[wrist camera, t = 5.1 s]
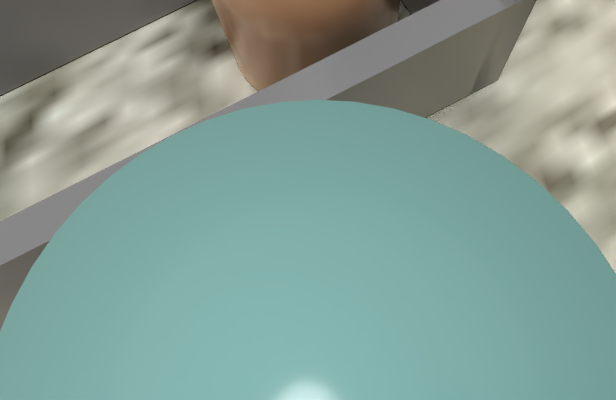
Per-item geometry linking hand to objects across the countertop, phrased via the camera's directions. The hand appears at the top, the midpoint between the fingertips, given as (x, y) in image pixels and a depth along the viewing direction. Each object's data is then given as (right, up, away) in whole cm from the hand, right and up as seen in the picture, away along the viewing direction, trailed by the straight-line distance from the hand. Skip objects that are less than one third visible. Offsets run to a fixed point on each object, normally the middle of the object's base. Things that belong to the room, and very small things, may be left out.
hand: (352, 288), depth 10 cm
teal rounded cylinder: (0, -3, +4) cm, 5 cm away
